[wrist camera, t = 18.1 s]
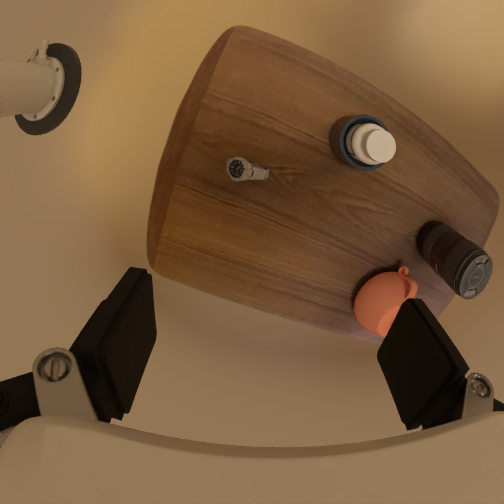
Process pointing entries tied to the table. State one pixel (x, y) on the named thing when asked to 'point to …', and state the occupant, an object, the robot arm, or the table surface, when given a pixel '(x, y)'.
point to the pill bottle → (369, 143)
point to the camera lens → (455, 259)
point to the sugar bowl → (383, 299)
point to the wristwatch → (245, 170)
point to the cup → (338, 137)
